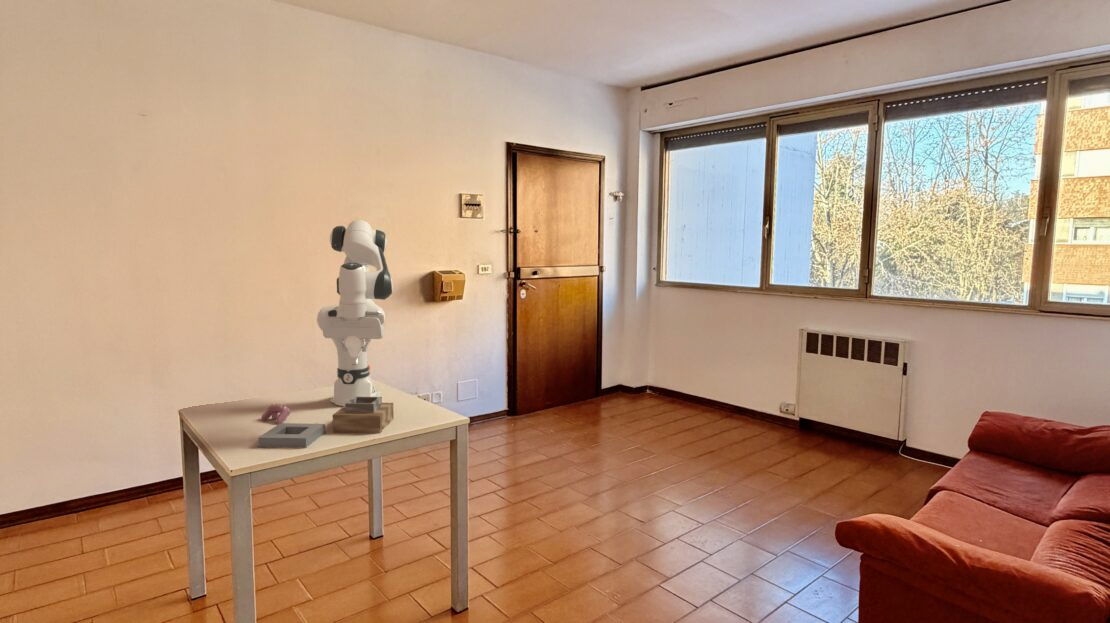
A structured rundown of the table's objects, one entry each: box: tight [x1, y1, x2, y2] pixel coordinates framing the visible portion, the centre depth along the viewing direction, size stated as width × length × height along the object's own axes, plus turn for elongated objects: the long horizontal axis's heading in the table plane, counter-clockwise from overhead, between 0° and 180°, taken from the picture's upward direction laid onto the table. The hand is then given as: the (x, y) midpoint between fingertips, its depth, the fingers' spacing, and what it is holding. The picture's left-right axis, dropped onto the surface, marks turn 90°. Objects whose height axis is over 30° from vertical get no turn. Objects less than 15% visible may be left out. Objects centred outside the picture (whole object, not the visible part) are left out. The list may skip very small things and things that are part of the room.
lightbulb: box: [344, 336, 365, 365], centre depth 205 cm, size 6×6×11 cm
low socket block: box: [257, 422, 326, 448], centre depth 194 cm, size 15×15×3 cm
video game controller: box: [260, 403, 291, 425], centre depth 214 cm, size 10×5×7 cm, turn 61°
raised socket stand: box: [332, 396, 395, 434], centre depth 209 cm, size 16×16×9 cm
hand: (354, 351), depth 205 cm, fingers closed on lightbulb, 6 cm apart
